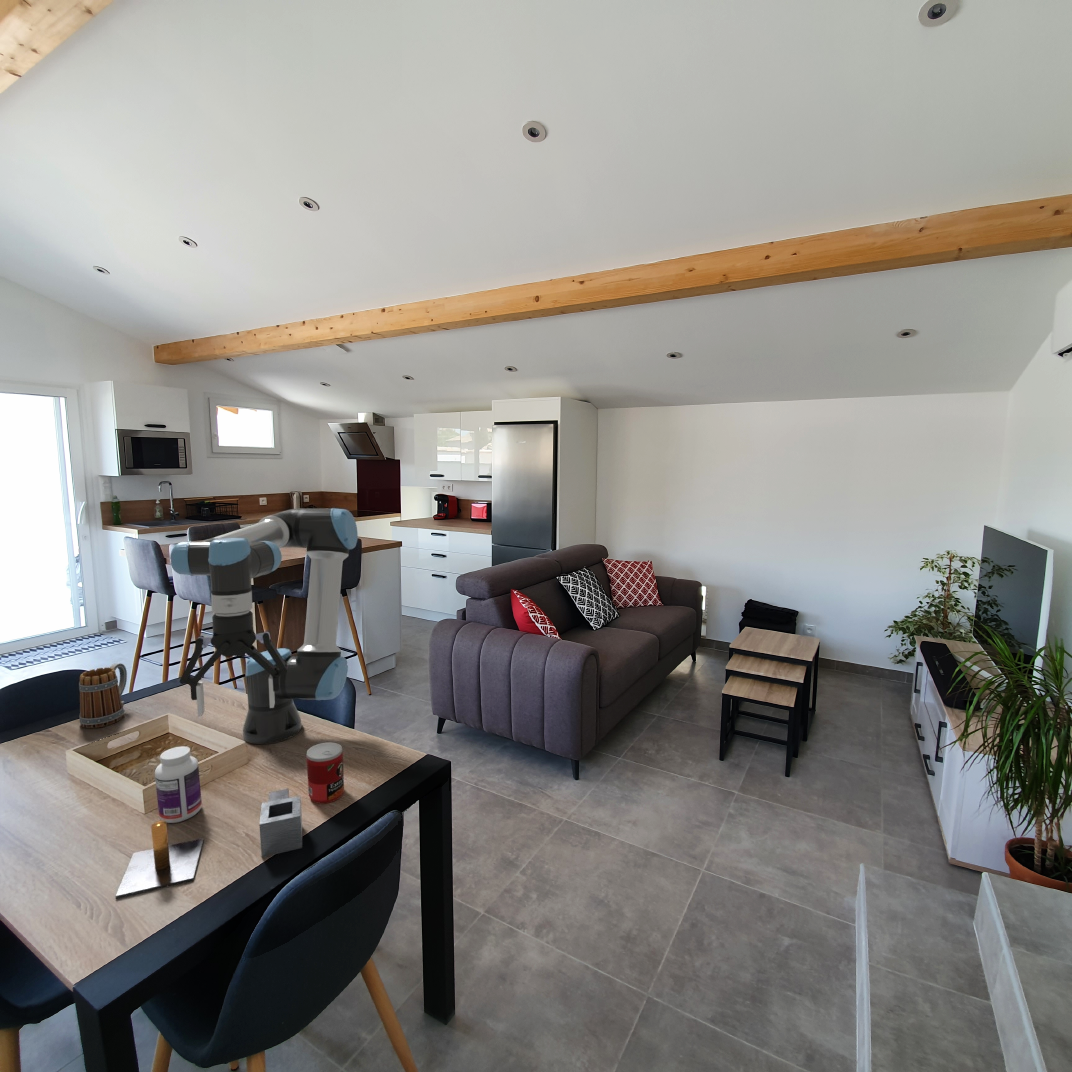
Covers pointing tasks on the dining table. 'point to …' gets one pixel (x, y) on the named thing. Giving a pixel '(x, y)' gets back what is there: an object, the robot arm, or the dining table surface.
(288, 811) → the end link
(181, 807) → the pill bottle
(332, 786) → the canned food
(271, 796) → the grey block with tab
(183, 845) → the keeper base
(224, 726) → the dining table surface
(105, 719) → the mug
